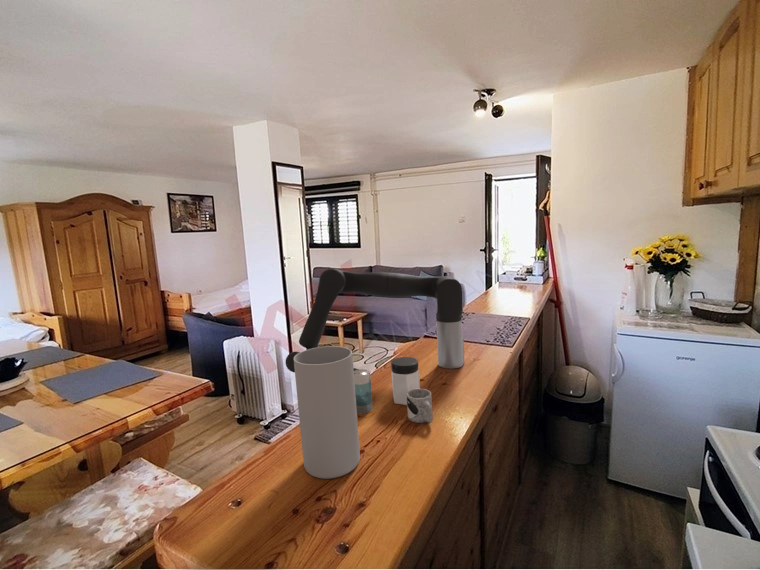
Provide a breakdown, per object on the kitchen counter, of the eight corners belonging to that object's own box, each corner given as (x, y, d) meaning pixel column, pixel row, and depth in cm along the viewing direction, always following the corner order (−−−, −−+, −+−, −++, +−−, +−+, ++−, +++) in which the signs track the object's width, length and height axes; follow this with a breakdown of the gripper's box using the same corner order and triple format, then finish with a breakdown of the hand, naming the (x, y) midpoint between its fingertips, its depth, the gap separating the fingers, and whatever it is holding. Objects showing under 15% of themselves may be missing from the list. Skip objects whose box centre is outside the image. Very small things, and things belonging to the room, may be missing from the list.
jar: (402, 408, 107) (400, 368, 105) (386, 399, 114) (384, 361, 112) (426, 399, 112) (424, 361, 110) (409, 390, 119) (407, 354, 117)
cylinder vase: (306, 486, 75) (295, 368, 72) (301, 453, 87) (292, 351, 84) (366, 472, 79) (357, 359, 76) (353, 442, 91) (346, 343, 88)
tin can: (364, 402, 112) (361, 367, 111) (376, 408, 108) (374, 372, 106) (349, 409, 108) (346, 373, 107) (361, 415, 104) (359, 378, 103)
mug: (403, 414, 103) (402, 391, 103) (425, 409, 106) (423, 386, 105) (420, 431, 94) (419, 406, 93) (443, 424, 96) (442, 400, 96)
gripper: (305, 368, 116) (335, 380, 104) (342, 356, 125) (373, 366, 113) (307, 390, 117) (337, 406, 105) (344, 377, 126) (375, 390, 114)
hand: (356, 385), depth 109 cm, fingers open, 8 cm apart
